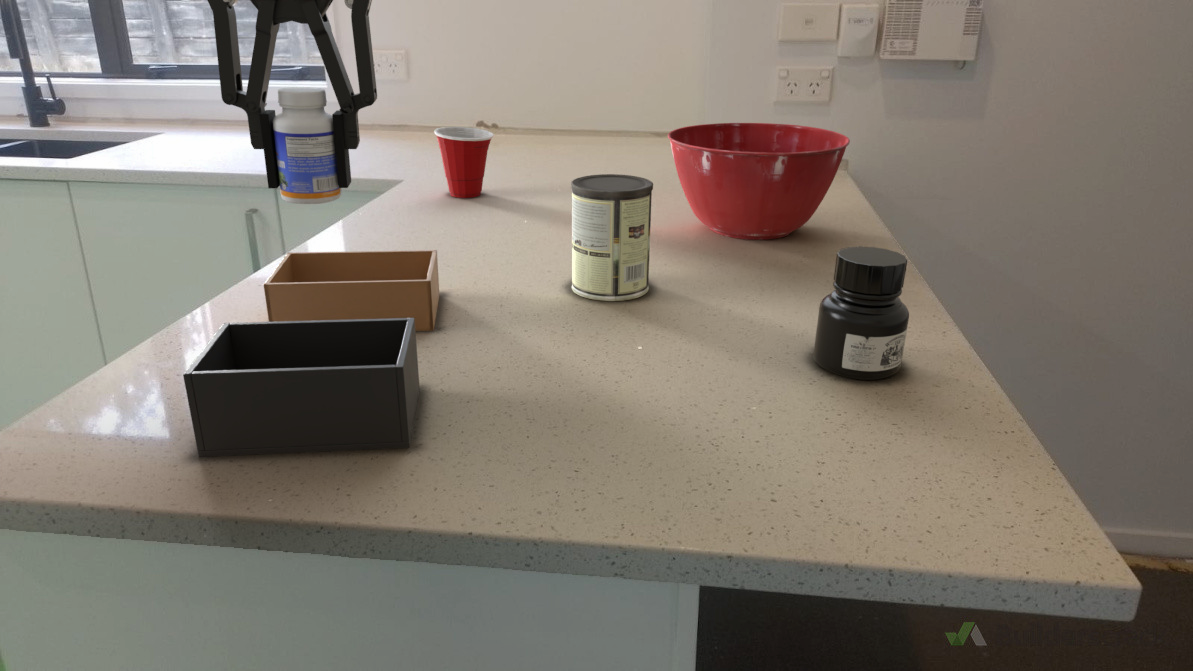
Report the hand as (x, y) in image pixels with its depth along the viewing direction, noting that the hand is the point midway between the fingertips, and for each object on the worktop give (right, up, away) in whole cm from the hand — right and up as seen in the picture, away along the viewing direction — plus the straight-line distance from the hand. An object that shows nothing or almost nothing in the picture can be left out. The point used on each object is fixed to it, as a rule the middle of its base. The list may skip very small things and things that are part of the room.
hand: (310, 184), depth 77 cm
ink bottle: (+54, -17, +12) cm, 58 cm away
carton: (-2, -11, +24) cm, 26 cm away
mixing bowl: (+51, +4, +62) cm, 81 cm away
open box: (+1, -22, -1) cm, 22 cm away
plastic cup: (+2, +13, +82) cm, 83 cm away
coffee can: (+28, -8, +34) cm, 44 cm away
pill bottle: (0, -1, +1) cm, 2 cm away
